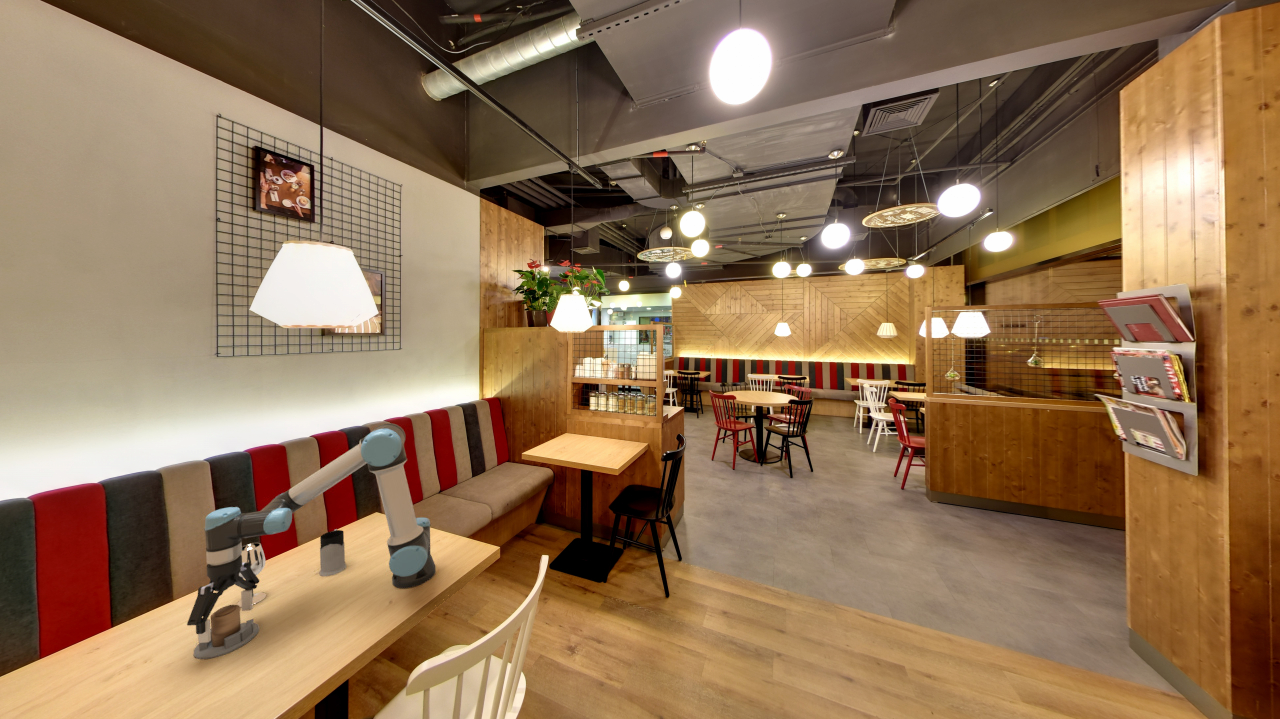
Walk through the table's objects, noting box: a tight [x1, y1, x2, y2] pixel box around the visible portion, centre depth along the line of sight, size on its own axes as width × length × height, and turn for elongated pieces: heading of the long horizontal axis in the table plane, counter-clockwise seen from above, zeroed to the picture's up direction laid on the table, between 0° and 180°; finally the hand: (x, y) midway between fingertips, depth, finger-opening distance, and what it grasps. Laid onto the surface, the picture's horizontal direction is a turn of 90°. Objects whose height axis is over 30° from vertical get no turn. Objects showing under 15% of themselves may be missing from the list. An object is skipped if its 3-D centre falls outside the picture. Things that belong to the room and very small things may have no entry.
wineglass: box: [236, 542, 267, 608], centre depth 139 cm, size 8×8×20 cm
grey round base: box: [193, 618, 260, 660], centre depth 120 cm, size 14×14×4 cm
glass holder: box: [319, 528, 347, 577], centre depth 161 cm, size 9×14×15 cm, turn 30°
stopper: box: [209, 604, 242, 647], centre depth 120 cm, size 6×6×10 cm
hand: (227, 624), depth 120 cm, fingers open, 13 cm apart
